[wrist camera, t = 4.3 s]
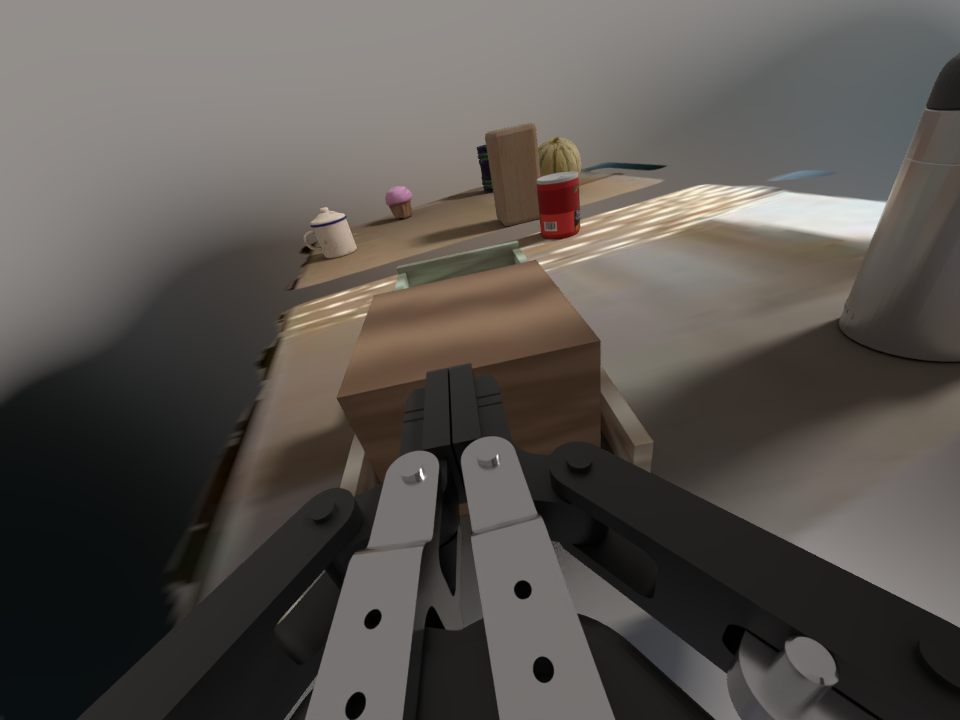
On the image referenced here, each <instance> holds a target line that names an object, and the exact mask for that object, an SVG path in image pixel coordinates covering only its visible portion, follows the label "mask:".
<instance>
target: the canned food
mask: <svg viewBox="0 0 960 720" xmlns="http://www.w3.org/2000/svg"><path fill="white" fill-rule="evenodd" d="M537 195H538V205H539V216H540V225H541V233H542V236H543V237H544V238H547V239H561V238H566V237H570V236H573V235H575V234H577V233H578V232H579V229H580V203H579V176H578V172H574V171H570V172H561V173H555V174H550V175H546V176H543V177H540V178H538V179H537Z"/></svg>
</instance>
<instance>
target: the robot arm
mask: <svg viewBox="0 0 960 720" xmlns="http://www.w3.org/2000/svg"><path fill="white" fill-rule="evenodd" d="M926 106H927V107H926V108H925V109H924V111H923V114H922V116H921V119H920V121H919V124H918V126H917V129H916V131H915V134H914V136H913V139H912V141H911V144H910V146H909V149H908V151H907V153H906V156H905V159H904V161H903V163H902V166H901V168H900V171H899V173H898V176H897V178H896V181H895V183H894V186H893V188H892V191H891V193H890V196H889V198H888V201H887V203H886V205H885V208H884V210H883V213H882V215H881V218H880V220H879V223H878V225H877V228H876V230H875V233H874V235H873V238H872V240H871V243H870V245H869V248H868V250H867V253H866V255H865V258H864V260H863V262H862V265H861V267H860V270H859V272H858V275H857V277H856V280H855V282H854V285H853V287H852V290H851V292H850V295H849V297H848V299H847V301H846V303H845V306H844V310H843V313H842V315H841V318H840V320H839V327H840V329H841V330H842V331H843V333H844V334H846V335H847V336H848V337H850V338H851V339H853V340H855V341H856V342H858V343H860V344H862V345H865V346H867V347H870V348H872V349H875V350H878V351H882V352H885V353H888V354H893V355H897V356H902V357H906V358H913V359H920V360H928V361H942V362H946V361H960V54H958V55H956V56H955V57H954V58H952V59H951V60H950V61H949V62H948V63H947V64H946V65H945V66H944V68H943V69H942V71H941V72H940V74H939V76H938V78H937V80H936V82H935V85H934V87H933V89H932V92H931V94H930V97H929V99H928V102H927V104H926ZM463 503H468V507H469V513H470V519H471V525H472V533H471V542H472V549H473V555H474V561H475V567H476V574H477V580H478V586H479V593H480V599H481V605H482V611H483V619H481V620H479V621H477V622H475V623H473V624H471V625H469V626H467V627H465V628H463V620H462V615H461V607H460V580H461V536H462V531H461V525H460V512H459V504H463ZM551 541H557V542H560V544H561V545H562V547H563V548H564V549H565V550H566V551H568V552H569V553H570V554H571V555H573V556H574V557H575V558H577V559H578V560H579V561H581V562H582V563H583V564H584V565H586V566H587V567H588V568H590V569H591V570H592V571H594V572H595V573H596V574H598V575H599V576H600V577H601V578H603V579H604V580H605V581H607V582H608V583H609V584H611V585H612V586H613V587H614V588H616V589H617V590H618V591H620V592H621V593H622V594H624V595H625V596H626V597H628V598H629V599H630V600H631V601H633V602H634V603H635V604H637V605H638V606H639V607H641V608H642V609H643V610H645V611H646V612H647V613H648V614H650V615H651V616H652V617H654V618H655V619H656V620H658V621H659V622H660V623H661V624H663V625H664V626H665V627H667V628H668V629H669V630H671V631H672V632H673V633H675V634H676V635H677V636H678V637H680V638H681V639H682V640H684V641H685V642H686V643H688V644H689V645H690V646H692V647H693V648H694V649H695V650H697V651H698V652H699V653H701V654H702V655H703V656H705V657H706V658H707V659H709V660H710V661H711V662H712V663H714V664H715V665H716V666H718V667H719V668H720V669H722V670H723V671H724V672H725V673H727V685H728V691H729V695H730V698H731V700H732V703H733V705H734V707H735V709H736V711H737V713H738V715H739V716H740V718H741V719H742V720H960V628H959V627H957V626H955V625H954V624H952V623H950V622H948V621H946V620H944V619H942V618H940V617H938V616H936V615H934V614H932V613H930V612H928V611H926V610H924V609H922V608H920V607H918V606H916V605H914V604H912V603H910V602H908V601H906V600H904V599H902V598H900V597H898V596H896V595H894V594H892V593H890V592H888V591H886V590H884V589H882V588H880V587H878V586H876V585H874V584H872V583H870V582H868V581H866V580H864V579H862V578H860V577H858V576H856V575H854V574H852V573H850V572H848V571H846V570H844V569H842V568H840V567H838V566H836V565H834V564H832V563H830V562H828V561H826V560H824V559H822V558H819V557H818V556H816V555H814V554H812V553H810V552H808V551H806V550H804V549H802V548H800V547H798V546H796V545H794V544H792V543H790V542H788V541H786V540H784V539H782V538H780V537H778V536H776V535H774V534H772V533H770V532H768V531H766V530H764V529H762V528H760V527H758V526H756V525H754V524H752V523H750V522H748V521H746V520H744V519H742V518H740V517H738V516H736V515H734V514H732V513H730V512H728V511H726V510H724V509H722V508H720V507H718V506H716V505H714V504H712V503H710V502H708V501H706V500H704V499H702V498H700V497H698V496H696V495H694V494H692V493H690V492H688V491H686V490H684V489H682V488H680V487H678V486H676V485H674V484H672V483H670V482H668V481H666V480H664V479H662V478H660V477H658V476H656V475H654V474H652V473H650V472H648V471H646V470H644V469H642V468H640V467H638V466H636V465H634V464H632V463H630V462H628V461H626V460H624V459H622V458H620V457H618V456H616V455H614V454H612V453H610V452H608V451H606V450H604V449H602V448H600V447H598V446H596V445H593V444H591V443H588V442H582V441H574V442H568V443H565V444H562V445H560V446H559V447H557V448H556V449H555V450H554V451H553V452H552V454H551V455H540V454H533V453H529V452H526V451H524V450H522V449H520V448H519V447H518V446H516V444H515V443H514V442H513V440H512V438H511V435H510V431H509V427H508V423H507V419H506V414H505V410H504V406H503V402H502V398H501V394H500V389H499V385H498V382H497V381H496V380H495V379H494V378H493V377H492V376H491V375H490V374H488V375H483V376H478V377H474V373H473V369H472V365H471V363H467V364H462V365H457V366H452V367H450V370H449V368H443V369H438V370H433V371H428V372H426V385H425V387H424V388H419V389H414V390H413V391H412V393H411V394H410V396H409V397H408V399H407V400H406V406H405V414H404V424H403V430H402V438H401V446H400V454H399V458H398V459H397V460H395V461H394V462H393V463H392V464H391V466H390V467H389V469H388V470H387V473H386V476H385V480H384V481H383V482H382V483H381V484H379V485H377V486H376V487H374V488H372V489H370V490H367V491H365V492H363V493H361V494H359V495H357V496H355V497H354V496H353V495H352V493H351V492H350V491H348V490H346V489H343V488H333V489H329V490H326V491H324V492H321V493H320V494H318V495H316V496H315V497H313V498H312V499H311V500H310V501H308V502H307V503H306V504H305V505H304V506H303V507H302V508H301V509H300V510H299V511H298V512H297V513H296V514H295V515H294V516H292V517H291V518H290V519H289V520H288V521H287V522H286V523H285V524H284V525H283V526H282V527H281V528H280V529H279V530H278V531H277V532H275V533H274V534H273V535H272V536H271V537H270V538H269V539H268V540H267V541H266V542H265V543H264V544H263V545H262V546H261V547H259V548H258V549H257V550H256V551H255V552H254V553H253V554H252V555H251V556H250V557H249V558H248V559H247V560H246V561H245V562H244V563H242V564H241V565H240V566H239V567H238V568H237V569H236V570H235V571H234V572H233V573H232V574H231V575H230V576H229V577H228V578H227V579H225V580H224V581H223V582H222V583H221V584H220V585H219V586H218V587H217V588H216V589H215V590H214V591H213V592H212V593H211V594H210V595H208V596H207V597H206V598H205V599H204V600H203V601H202V602H201V603H200V604H199V605H198V606H197V607H196V608H195V609H194V610H193V611H191V612H190V613H189V614H188V615H187V616H186V617H185V618H184V619H183V620H182V621H181V622H180V623H179V624H178V625H177V626H176V627H174V628H173V629H172V630H171V631H170V632H169V633H168V634H167V635H166V636H165V637H164V638H163V639H162V640H161V641H160V642H159V643H158V644H156V645H155V646H154V647H153V648H152V649H151V650H150V651H149V652H148V653H147V654H146V655H145V656H144V657H143V658H142V659H141V660H140V661H138V662H137V663H136V664H135V665H134V666H133V667H132V668H131V669H130V670H129V671H128V672H127V673H126V674H124V676H122V677H121V678H120V679H119V680H118V681H117V682H116V683H115V684H114V685H113V686H112V687H111V688H110V689H109V690H107V691H106V692H105V693H104V695H102V696H101V697H100V698H99V699H98V700H97V701H96V702H95V703H94V704H93V705H92V706H90V708H88V709H87V710H86V711H85V712H84V713H83V714H82V715H81V716H80V717H79V718H78V719H77V720H284V718H285V717H286V716H287V714H288V713H289V712H290V710H291V709H292V708H293V706H294V705H295V704H296V702H297V701H298V700H299V698H300V697H301V696H302V694H303V693H304V692H305V690H306V689H307V688H308V686H309V685H310V684H311V682H312V681H313V680H314V678H315V677H316V675H317V674H318V675H317V679H316V682H315V686H314V688H313V689H312V690H311V692H310V693H309V694H308V695H307V696H306V697H305V699H304V700H303V701H302V703H301V704H300V705H299V707H298V708H297V710H296V711H295V712H294V714H293V715H292V717H291V718H290V720H715V719H714V718H713V717H712V716H711V715H710V714H709V713H707V712H706V711H705V710H704V709H703V708H702V707H701V706H700V705H699V704H698V703H696V702H695V701H694V700H693V699H692V698H691V697H690V696H689V695H688V694H686V693H685V692H684V691H683V690H682V689H681V688H680V687H679V686H677V685H676V684H675V683H674V682H673V681H672V680H671V679H670V678H669V677H667V676H666V675H665V674H664V673H663V672H662V671H661V670H660V669H659V668H658V667H656V666H655V665H654V664H653V663H652V662H651V661H650V660H649V659H648V658H646V657H645V656H644V655H643V654H642V653H641V652H640V651H639V650H638V649H637V648H635V647H634V646H633V645H632V644H631V643H630V642H629V641H627V640H626V639H625V638H624V637H623V636H621V635H620V634H618V633H617V632H615V631H614V630H613V629H611V628H610V627H608V626H606V625H604V624H602V623H601V622H599V621H597V620H594V619H592V618H589V617H587V616H585V615H581V614H577V612H576V610H575V607H574V604H573V601H572V598H571V596H570V593H569V590H568V587H567V585H566V582H565V579H564V576H563V573H562V571H561V568H560V565H559V562H558V560H557V557H556V554H555V551H554V549H553V546H552V543H551ZM323 570H325V571H326V572H325V573H324V574H323V575H322V576H321V577H320V579H319V580H318V581H317V582H316V583H315V584H314V585H313V586H312V588H311V589H310V590H309V591H308V592H307V593H306V594H305V596H304V597H303V598H302V599H301V600H300V601H299V602H298V604H297V605H296V606H295V607H294V608H293V609H292V610H291V611H290V613H289V614H288V615H287V616H286V617H285V618H284V619H283V620H282V621H281V622H280V623H279V624H278V625H276V624H277V623H278V621H279V620H280V619H281V618H282V616H283V615H284V614H285V613H286V612H287V611H288V610H289V609H290V607H291V606H292V605H293V604H294V603H295V602H296V601H297V600H298V598H299V597H300V596H301V595H302V594H303V593H304V592H305V591H306V589H307V588H308V587H309V586H310V585H311V584H312V583H313V582H314V580H315V579H316V578H317V577H318V576H319V575H320V574H321V573H322V571H323Z"/></svg>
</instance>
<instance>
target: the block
mask: <svg viewBox="0 0 960 720" xmlns="http://www.w3.org/2000/svg"><path fill="white" fill-rule="evenodd" d="M485 141H486V147H487V154H488V160H489V167H490V173H491V180H492V186H493V193H494V200H495V206H496V213H497V218H498V219H499V221H500V222H502V223H503V224H504V225H505V226H507V227H509V226H513V225H518V224H522V223H526V222H530V221H534V220H539V219H540V216H539V205H538V195H537V179H538V178H540V167H539V155H538V144H537V133H536V126H535V124H532V123H530V124H521V125H517V126H513V127H508V128H504V129H499V130H495V131H490V132H488V133H487V134H486V136H485Z"/></svg>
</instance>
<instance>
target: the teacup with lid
mask: <svg viewBox="0 0 960 720" xmlns="http://www.w3.org/2000/svg"><path fill="white" fill-rule="evenodd" d="M320 212H321V213H320V214H319V215H318V216H317V217H316V218H315V220H313V221H312V222H311V227H312V228H313V230H312V231H309V232H307V233H306V234H305V236H304V241H305V243H306V245H307V246H308V247H309V248H311V249H312V250H322V251H323V253H324V256H325V257H326V258H338V257H342V256H345V255H348V254H350V253H352V252H354V251H355V250H356V249H357V247H356V244H355V242H354V239H353V236H352V234H351V231H350V228H349V226H348V223H347V221H346V216H345V215H344V214H342V213H336V212H333V211H328V208H327V207H325V208H321V209H320ZM313 233H315V234H316V237H317V239H318V242H319V244H320V246H321V247H313V246H311V245H310V244H309V243H308V241H307V236H308V235H310V234H313Z"/></svg>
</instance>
